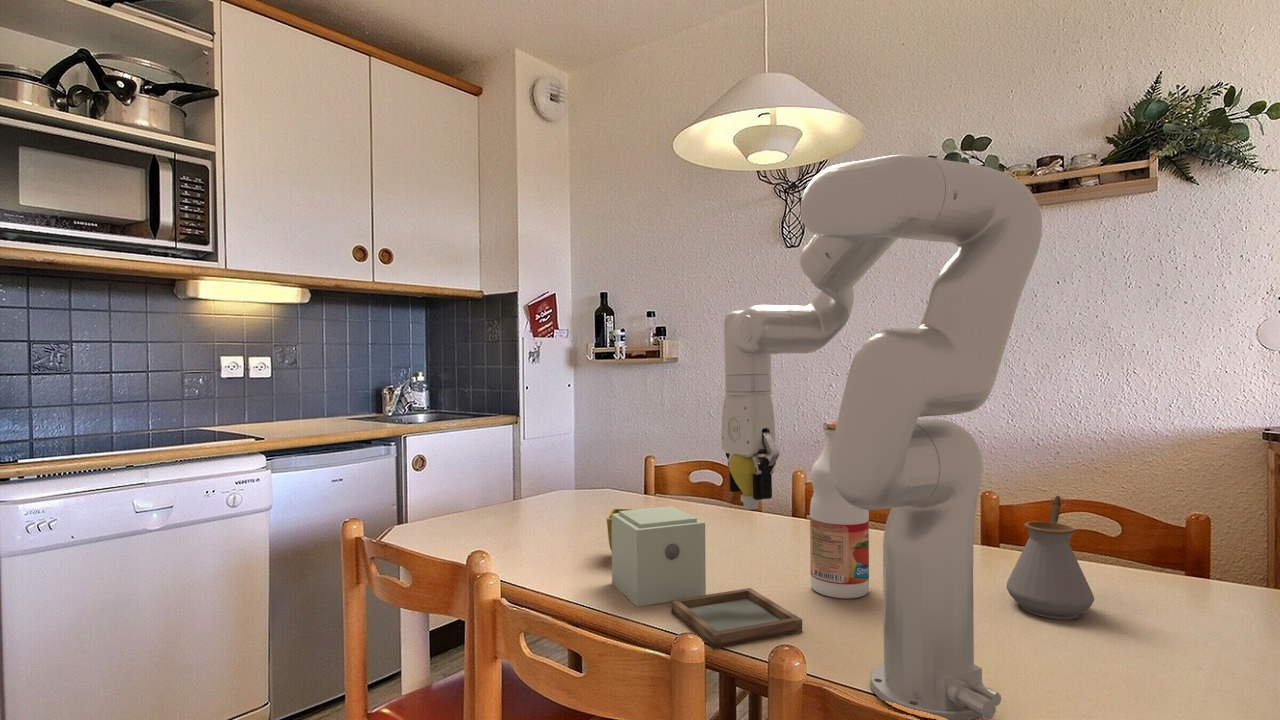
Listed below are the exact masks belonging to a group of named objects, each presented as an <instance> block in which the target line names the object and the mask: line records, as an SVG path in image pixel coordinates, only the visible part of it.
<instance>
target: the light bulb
mask: <svg viewBox="0 0 1280 720" xmlns="http://www.w3.org/2000/svg"><path fill="white" fill-rule="evenodd" d="M757 454H763V452H758V453H757ZM762 461H763V459H759V462H760V464H761V462H762ZM728 469H729V470H730V472H731V474H732V476H733V478H734V480H735V482H736V484H737V485H738V487H739V488H740V490H741V491H742V492H741V493H742V494H740V502H742V503H743V509H745V510H757V509H759V503H760V502H761V501H762V499H761V500H755V499H753V474H756V473H755V470H754V466H753V462H752V458H751V457H742V456H738V455H733V456H732V457H731V460H730V463H729V467H728ZM729 470H728V471H729Z"/></svg>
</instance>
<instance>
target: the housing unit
mask: <svg viewBox="0 0 1280 720" xmlns="http://www.w3.org/2000/svg"><path fill="white" fill-rule="evenodd" d="M635 509H636V510H626V511H619V513H616V514H612V552H611V583H612V585H614V586H615V588H617V590H619V591H620V592H621V593H622V594H623V595H624V596H625V597H626V596H627V597H626V598H627V599H628V600H629V601H631V602H632V603H633V604H634V605H635V606H636V607H637V608H640V607H644V606H650V605H651V606H652V605H659V604H664V603H669V602H670V603H671V600H676V599H683V598H689V597H696V596H702V595H707V593H706V589H707V588H706V587H707V586H706V585H707V583H706V580H707V579H706V576H707V574H706V572H707V571H706V569H707V568H706V522H705V521H702V520H700V519H698V518H697V517H695V516H693V515H692V514H689V513H687V512H685V511H683V510H681V509H679V508H676V507H674V506H672V505H670V506H659V507H647V508H635Z"/></svg>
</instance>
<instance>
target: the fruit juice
mask: <svg viewBox="0 0 1280 720" xmlns="http://www.w3.org/2000/svg"><path fill="white" fill-rule="evenodd" d="M836 424H837V421H824V422H823V425H822V429H823V433H824V435H825V439H824V444H823V447H822V451H821V453H820V455H819V457H818V458H817V459H816V460H815V461H814V463H813V465H812V467H811V470H810V480H811V485H812V488H813V494H812V497H811V499H810V506H809V521H810V522H809V523H810V524H809V527H810V529H809V533H810V535H809V537H810V540H809V541H810V542H809V545H810V546H809V547H810V549H809V552H810V558H809V560H810V561H809V562H810V563H809V565H810V584H811V585H810V586H811V588H812V590H813V591H814V592H816V593H818V594H820V595H823V596H826V597H831V598H833V599H834V598H835V599H857V598H858V599H859V598H861V597H865V596H866V595H867V594H868V592H869V589H870V588H869V587H870V544H869V543H870V538H869V536H870V535H869V534H870V533H869V532H870V529H869V527H870V525H869V524H870V520H869V518H870V517H869V515H870V513H869V510H866V509H860V508H857V507H854V506H852V505H850V504H849V503H847V502H846V501H845V500H844V499H843V498H842V497H841V496H840V495H839V493H838V492H837V490H836V488H835V486H834V484H833V481H832V477H831V471H830V455H831V447H832V442H833V437H834V433H835V429H836Z"/></svg>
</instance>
